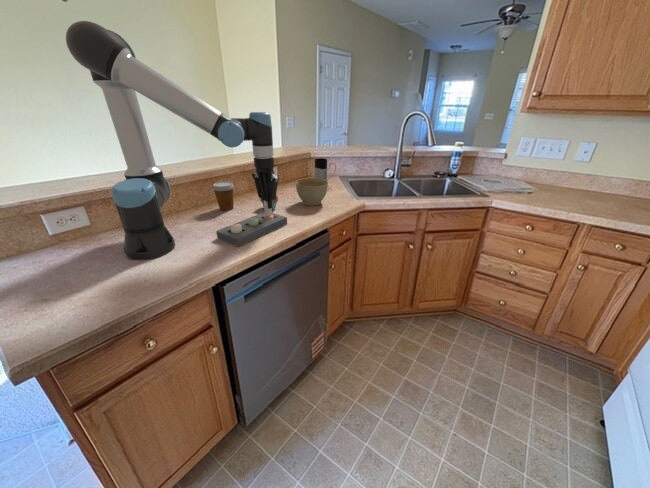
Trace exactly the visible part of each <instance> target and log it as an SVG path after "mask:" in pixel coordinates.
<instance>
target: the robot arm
mask: <svg viewBox="0 0 650 488" xmlns="http://www.w3.org/2000/svg"><path fill="white" fill-rule="evenodd" d="M65 43H66V47H67V49H68V51H69V53H70V54H71V56H72V57H73V58H74V60H75V61H77V63H78V64H80V65H81V66H82V67H84V68H85V69H87V70H89V72H90V75H91V76H90V77H91V79H92V81H93V83H94V84H95V85H97V86H98V87H99V88H101V90H102V92H103V96H104V99H105V102H106V105H107V106H106V107H107V109H108V111H109V112H108V113H109V115H110V117H111V120H112V123H113V127H114V130H115V133H116V137H117V139H118V140H117V141H118V143H119V145H120V150H121V152H122V155H123V157H124V162H125V164H126V166H127V169H126V170H125V171H124V173H123V175H124V178H125V179H124V180H123V181H118V182H117V183H115V184H113V186H112V187H111V190H110V191H111V197H112V198H111V199H112V201H113V203H114V206H115V208H116V212H117V214H118V218H119V220H120V223H121V225H122V228H123V232H124V241H123V242H124V243H123V250H124V254H125V256H126V257H127V258H128V259H131V260H138V261H139V260H140V261H141V260H149V259H154V258H158V257H161V256H164V255H166V254H168V253H170V252H171V251H173V250H174V249H175V246H176V243H175V239H174V237H173V236H172V235H173V234H171V232H170V230H169V229H168V227H166V225H165V223H164V219H163V214H162V211H161V208H162V207H163V206H164V205H165V203H166V202H167V201H168V200H169V197H170V196H171V195H170V194H171V185H170V183H169V181H168V180H167V179H166V177H165V176H164V173H163V169H162V168H161V167H160V166H158V165H156V161H155V157H154V154H153V151H152V146H151V144H150V139H149V135H148V131H147V128H146V125H145V122H144V118H143V115H142V110H141V107H140V104H139V99H138V97H137V96H138V95H137V93H138V94H140V95H142V96H144V97H145V98H147V99H149V100H151V101H152V102H154V103H155V104H157V105H159V106H161V107H162V108H164V109H166V110H167V111H169V112H171V113H173V114H175V115H177V116H178V117H180V118H181V119H183V120H185V121H187V122H189V124H192V125H194V126H195V127H197V128H199V129H200V130H202V131H203V132H205V133H207V134H209V135H211V136H212V137H213V138H215V139H217V140H218V141H219V142H221V143H222V144H223V145H224V146H225V147H228V148H237V147H238V146H241V144H242V143H243V142H245V141H246V142H247V141H248V142H249V141H251V142H252V143H251V145H252V156H253V157H254V158H253V163H254V164H253V165H254V168H255V172H254V173H251V176H252V178H253V180H254V184H255V185H254V186H255V188H256V192H257V196H258V198H259V199H260V198H262V200H263V203H262V207H263V209H264V212H265V216H270V215H272V213H273V209H272V200H274V199H276V195H277V191H278V185H279V184H278V183H279V182H280V181H279V180H280V177H279V176H277V175H275V171H274V167H275V158H274V143H273V142H274V141H273V125H272V118H271V117H272V116H271V114H270V113H269V112H266V111H251V112H249V116H248V117H245V118H239V117H238V118H237V117H236V118H235V117H234V118H233V117H232V118H231V117H229V116H228V115H226V114H224V113H223V112H222V111H220V110H218V109H217V108H215V107H213V106H212V105H210V104H208V103H207V102H205V101H203V100H202V99H200V98H199V97H197V96H195V95H194V94H193V93H191V92H189V91H188V90H186V89H185V88H183V87H182V86H180V85H179V84H177V83H175V82H173V81H172V80H171V79H169V78H167V77H166V76H164V75H163V74H161V73H159V72H158V71H156V70H154V69H153V68H151V67H150V66H148V64H147V65H146V64H145V63H144V62H142V61H140V60H139V59H137V57H136V53H135V52H134V50H133V48H132V46H131V45H130V44H129V43H128V41H126V40H125V39H124V38H123V37H122V36H121V35H120V34H118V33H116V32H115V31H112V30H110V29H108V28H105V27H103V25H100V24H98V23H96V22H92V21H87V20H78V21H76V22H74V23H72V24H70V26H68V29H67V30H66V33H65Z"/></svg>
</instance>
